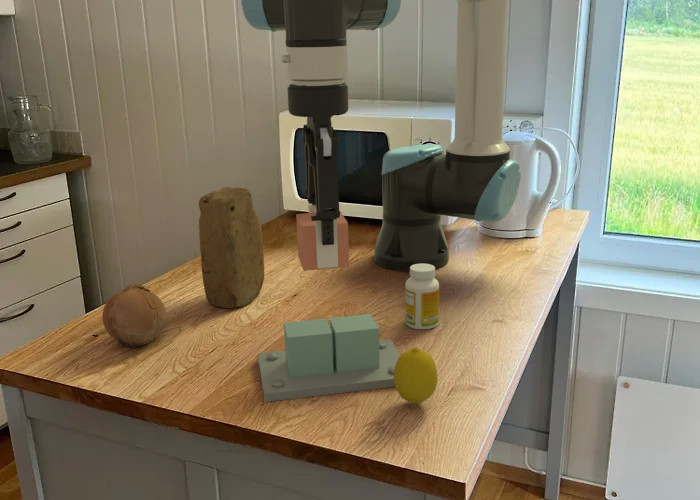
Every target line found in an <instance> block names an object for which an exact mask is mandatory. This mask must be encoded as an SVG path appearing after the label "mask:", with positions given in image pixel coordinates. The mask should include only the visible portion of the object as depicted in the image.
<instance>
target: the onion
mask: <svg viewBox="0 0 700 500" xmlns="http://www.w3.org/2000/svg"><path fill="white" fill-rule="evenodd" d="M166 311H167V310H166V308H165V305H164V303H163V301H162V300H161V298H160V297H159V296H157V295H156V294H155V293H153V292H152V291H151V290H150V289H148V288H147V287H145V286H143V285H142V284H138V283H132V284H131V283H130V284H129V286H126V287H125V288H124V289H122V290H120V291H119V292H117V293H116V294H114V295H112V296H111V297H109V299H108V300H107V301H106V302H105V305H104V306H103V310H102V316H101V318H102V324H103V326H104V329H105V330H106V332H107V333H108V334H109V336H111V338H112V339H113V340H115V341H117V342H118V343H119V344H121V345H123V346H125V347H133V348H134V349H136V348H137V347H138V346H141V347H142V346H144V345H145V344H147V345H148V344H151V342H152V341H155V339H158V336H160V335H161V333H162V330H163V329H164V328H165V326H166V319H167V312H166Z"/></svg>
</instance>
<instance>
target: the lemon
mask: <svg viewBox="0 0 700 500" xmlns="http://www.w3.org/2000/svg"><path fill="white" fill-rule="evenodd" d="M394 382H395V390H396V392H397V393H398V394H399V396H400V397H401V398H402V399H403V400H405V401H407V402H410V403H411V404H413V405H416V406H417V405H418V404H420V403H423V402H425V401H427V400H428V399H429V398H431V397H432V396H433V395H434V393H435V391H436V388H437V384H438V369H437V365H436V362H435V359H434V358H433V356H432V355H431V354H430V353H429V352H427V351H426V350H424V349H421V348H419V347H418V346H415V347H413V348H410V349H408V350H405V351H403V352H402V353H401V354H400V357H399V358H398V360H397V363H396V365H395V370H394Z"/></svg>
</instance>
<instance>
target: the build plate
mask: <svg viewBox="0 0 700 500" xmlns="http://www.w3.org/2000/svg"><path fill="white" fill-rule="evenodd" d="M283 332H284V333H283V334H284V335H283V336H284V349H285V350H276V351H275V350H274V351H268V352H267V351H266V352H258V353H257V360H258V361H257V362H258V368H259V374H260V381H261V386H262V392H263V400H264V403H265V402H266V403H268V402H275V401H283V400H292V399H301V398H310V397H318V396H326V395H335V394H342V393H351V392H359V391H369V390H370V391H371V390H378V389H384V388H385V389H386V388H393V387H395V382H394V370H395V365H396V363H397V360H398V358H399V357H400V355H401V354H400V352H399V351H398V350H397V348H396V346H395V344H394V343H393V341H392V340H391V338H390V339H380V327H379V326H378V324H377V322H376V320H375V318H374V317H373V315H372V313H368V314H356V315H348V316H338V317H329V323H328V320H327V318H317V319H307V320H306V319H305V320H299V321H298V320H295V321H288V322H287V321H286V322H283ZM395 388H396V387H395Z"/></svg>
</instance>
